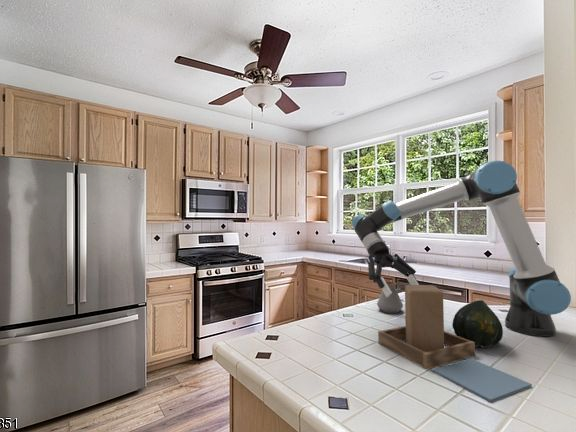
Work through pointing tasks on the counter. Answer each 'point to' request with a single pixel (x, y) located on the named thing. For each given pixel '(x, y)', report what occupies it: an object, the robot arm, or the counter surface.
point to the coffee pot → (390, 300)
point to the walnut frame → (454, 352)
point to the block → (424, 317)
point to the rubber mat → (482, 379)
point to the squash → (478, 324)
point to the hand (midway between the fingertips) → (404, 293)
